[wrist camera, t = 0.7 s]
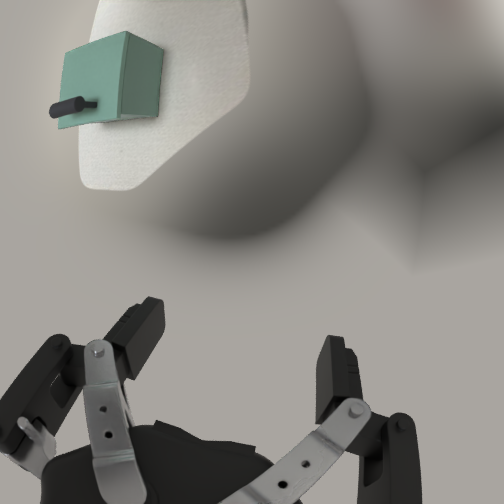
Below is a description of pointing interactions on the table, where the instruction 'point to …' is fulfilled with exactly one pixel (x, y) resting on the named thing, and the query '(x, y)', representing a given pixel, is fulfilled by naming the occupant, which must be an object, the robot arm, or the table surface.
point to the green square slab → (92, 82)
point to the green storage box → (140, 80)
